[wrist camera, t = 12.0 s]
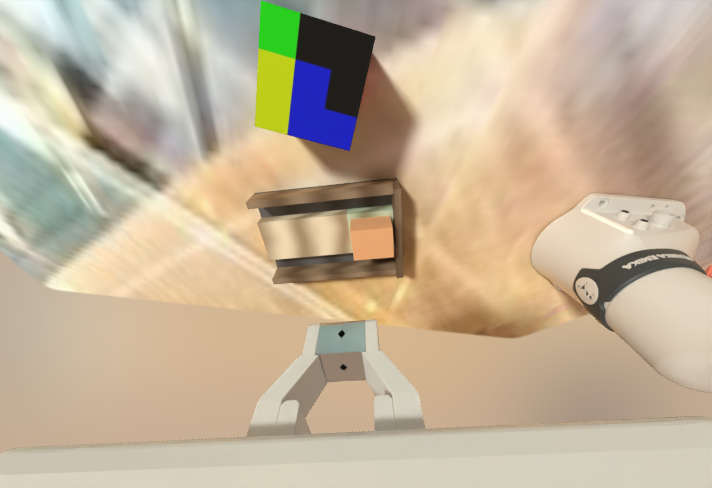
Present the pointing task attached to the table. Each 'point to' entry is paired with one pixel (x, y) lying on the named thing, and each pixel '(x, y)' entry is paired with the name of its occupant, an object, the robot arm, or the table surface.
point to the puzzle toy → (310, 76)
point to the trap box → (327, 229)
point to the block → (372, 238)
